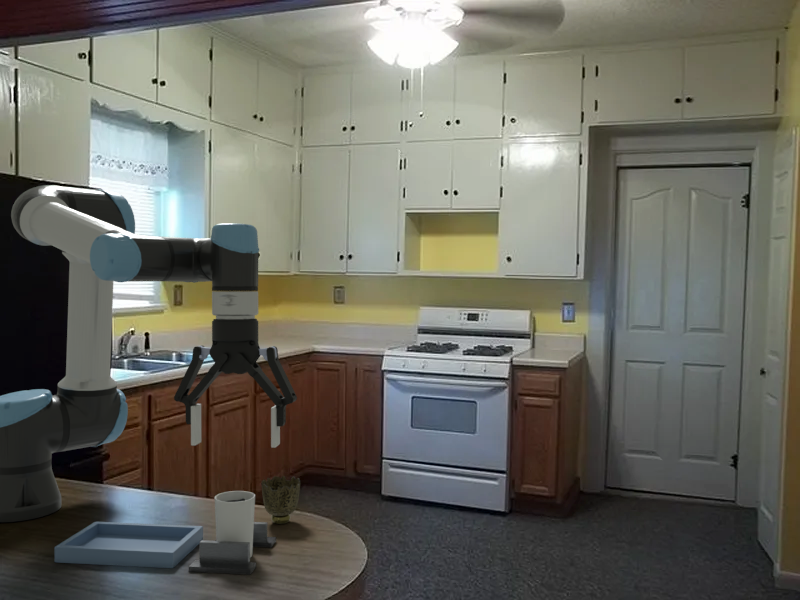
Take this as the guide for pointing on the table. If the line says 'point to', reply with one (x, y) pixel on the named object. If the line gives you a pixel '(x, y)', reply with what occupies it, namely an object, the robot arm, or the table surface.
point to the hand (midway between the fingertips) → (235, 445)
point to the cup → (280, 497)
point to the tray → (130, 544)
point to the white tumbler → (235, 517)
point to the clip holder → (231, 553)
